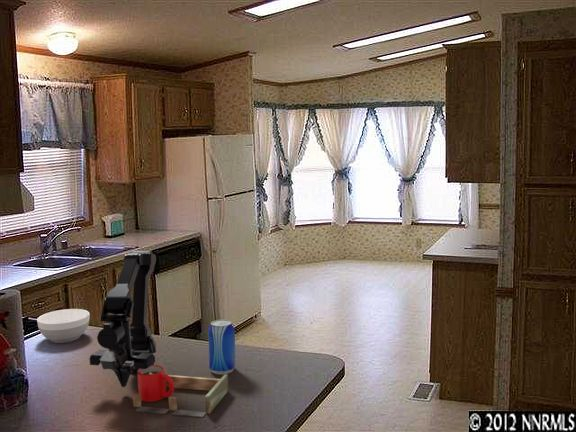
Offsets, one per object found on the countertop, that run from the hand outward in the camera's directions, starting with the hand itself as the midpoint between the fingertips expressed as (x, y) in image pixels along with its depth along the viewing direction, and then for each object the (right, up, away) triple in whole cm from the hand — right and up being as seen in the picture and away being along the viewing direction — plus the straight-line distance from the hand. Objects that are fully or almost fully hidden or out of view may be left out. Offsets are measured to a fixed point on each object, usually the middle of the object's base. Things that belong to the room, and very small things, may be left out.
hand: (124, 386), depth 179 cm
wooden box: (+18, -2, -5) cm, 19 cm away
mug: (+11, -2, -2) cm, 11 cm away
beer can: (+28, +1, +15) cm, 32 cm away
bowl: (-36, +4, +51) cm, 63 cm away
